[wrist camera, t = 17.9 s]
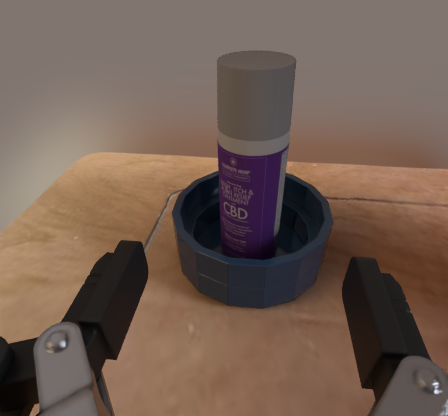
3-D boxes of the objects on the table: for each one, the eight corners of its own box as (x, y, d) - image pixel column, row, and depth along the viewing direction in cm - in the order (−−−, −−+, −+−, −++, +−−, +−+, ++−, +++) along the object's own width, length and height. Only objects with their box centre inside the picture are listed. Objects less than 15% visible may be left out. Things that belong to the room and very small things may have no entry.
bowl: (312, 213, 32) (320, 170, 28) (330, 320, 22) (346, 272, 19) (194, 207, 33) (190, 164, 30) (163, 305, 23) (153, 258, 20)
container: (217, 266, 25) (207, 69, 16) (225, 228, 29) (221, 49, 20) (276, 272, 25) (300, 70, 16) (277, 232, 28) (297, 50, 19)
